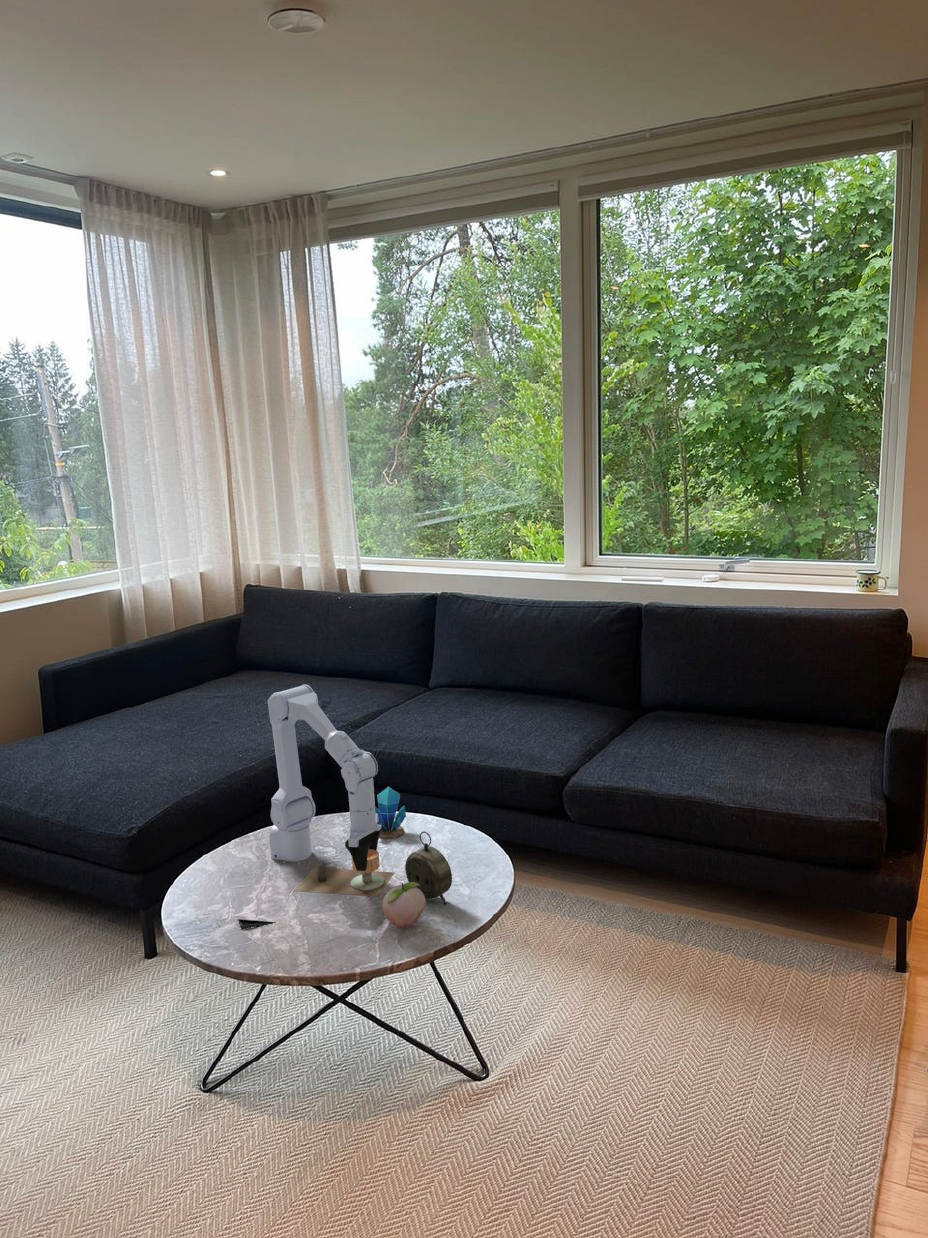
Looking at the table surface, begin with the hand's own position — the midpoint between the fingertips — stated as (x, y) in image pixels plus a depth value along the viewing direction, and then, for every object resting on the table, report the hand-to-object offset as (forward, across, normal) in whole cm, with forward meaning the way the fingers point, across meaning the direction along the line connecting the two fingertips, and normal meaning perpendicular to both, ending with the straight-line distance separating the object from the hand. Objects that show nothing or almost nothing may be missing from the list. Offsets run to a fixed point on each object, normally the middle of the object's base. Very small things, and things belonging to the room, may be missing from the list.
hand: (366, 863), depth 216 cm
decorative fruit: (+6, -16, -14) cm, 22 cm away
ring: (+1, 0, 0) cm, 1 cm away
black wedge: (+6, -14, +22) cm, 26 cm away
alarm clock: (+6, -4, -16) cm, 17 cm away
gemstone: (+6, +30, +4) cm, 31 cm away
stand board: (+6, 0, +6) cm, 8 cm away
